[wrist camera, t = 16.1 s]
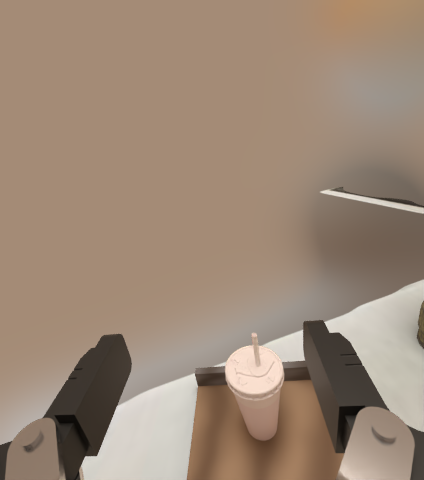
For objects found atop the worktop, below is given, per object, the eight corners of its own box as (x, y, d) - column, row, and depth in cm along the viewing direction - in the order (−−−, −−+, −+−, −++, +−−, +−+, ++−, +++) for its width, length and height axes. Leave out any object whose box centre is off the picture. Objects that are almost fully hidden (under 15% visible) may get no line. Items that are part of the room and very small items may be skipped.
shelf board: (188, 498, 27) (180, 477, 26) (200, 385, 40) (196, 366, 38) (356, 497, 25) (358, 474, 24) (314, 378, 38) (314, 358, 36)
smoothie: (298, 446, 29) (291, 352, 24) (242, 460, 28) (223, 368, 23) (277, 394, 35) (268, 310, 30) (231, 405, 34) (214, 322, 29)
